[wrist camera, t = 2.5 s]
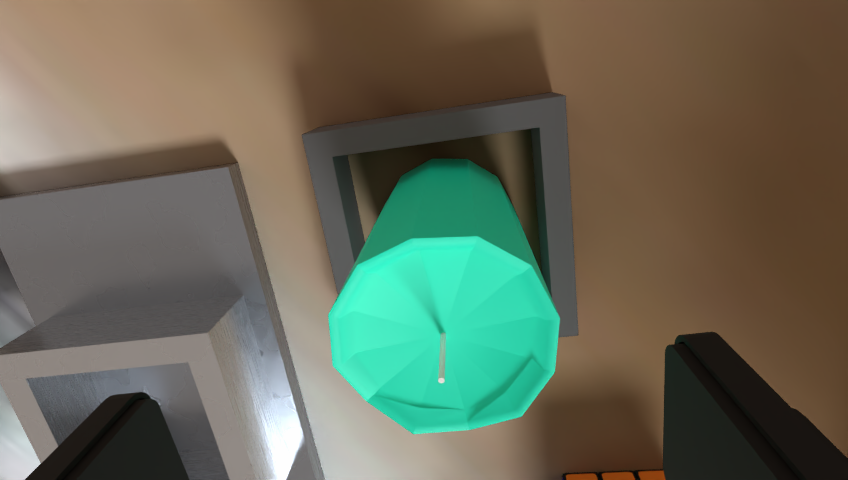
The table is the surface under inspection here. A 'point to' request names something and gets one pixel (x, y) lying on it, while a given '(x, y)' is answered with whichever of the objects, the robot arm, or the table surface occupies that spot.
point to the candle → (446, 306)
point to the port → (155, 320)
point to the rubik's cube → (617, 475)
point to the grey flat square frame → (441, 125)
